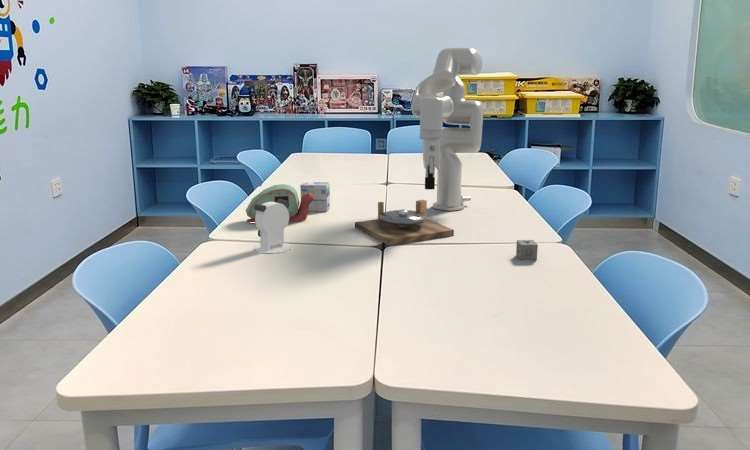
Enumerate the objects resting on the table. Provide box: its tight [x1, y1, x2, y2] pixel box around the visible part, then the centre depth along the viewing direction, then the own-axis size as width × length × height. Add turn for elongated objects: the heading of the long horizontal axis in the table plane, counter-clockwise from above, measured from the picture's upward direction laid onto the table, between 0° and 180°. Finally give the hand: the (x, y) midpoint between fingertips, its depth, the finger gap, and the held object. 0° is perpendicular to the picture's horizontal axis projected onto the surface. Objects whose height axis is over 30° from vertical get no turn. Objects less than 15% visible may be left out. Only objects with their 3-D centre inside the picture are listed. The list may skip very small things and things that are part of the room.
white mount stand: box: [254, 199, 292, 254], centre depth 204 cm, size 12×11×15 cm
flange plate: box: [380, 199, 428, 225], centre depth 223 cm, size 18×16×5 cm
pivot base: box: [354, 201, 455, 247], centre depth 223 cm, size 25×25×9 cm
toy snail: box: [245, 183, 314, 223], centre depth 237 cm, size 25×8×14 cm, turn 97°
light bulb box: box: [299, 181, 331, 213], centre depth 254 cm, size 11×7×11 cm, turn 84°
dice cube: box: [515, 239, 539, 261], centre depth 195 cm, size 5×5×5 cm
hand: (429, 188), depth 220 cm, fingers closed
